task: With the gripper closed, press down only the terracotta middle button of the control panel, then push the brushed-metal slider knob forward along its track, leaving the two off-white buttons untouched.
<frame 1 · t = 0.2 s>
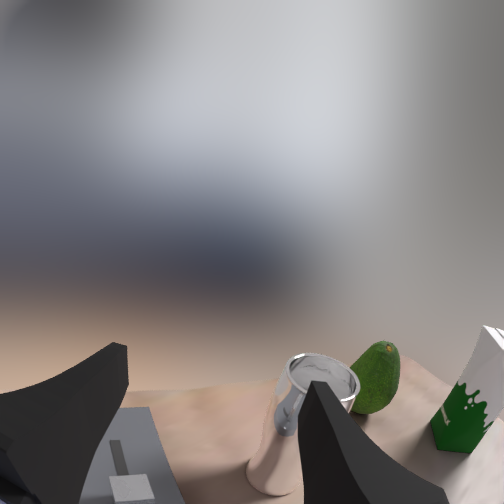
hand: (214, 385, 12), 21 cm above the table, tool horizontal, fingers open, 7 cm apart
milk carton: (449, 438, 37), on the table
slider knob: (131, 496, 18), point 5 cm above the table, slide at 0.0 cm
control panel: (80, 493, 20), on the table
avocado: (356, 409, 43), on the table
beer glass: (272, 475, 29), on the table
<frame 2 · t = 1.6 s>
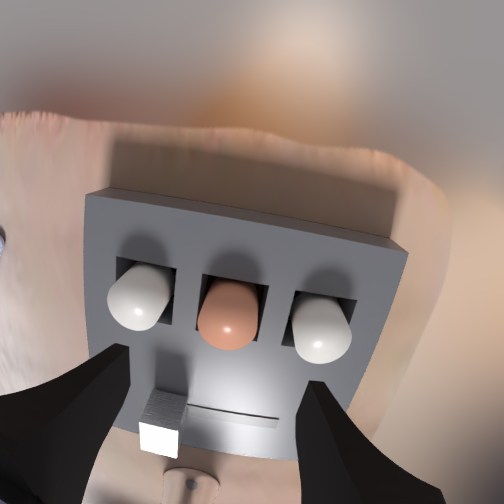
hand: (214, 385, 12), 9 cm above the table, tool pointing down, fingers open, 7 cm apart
middle button: (230, 310, 18), point 3 cm above the table, slide at 0.0 cm
slider knob: (164, 423, 18), point 5 cm above the table, slide at 0.0 cm
control panel: (226, 339, 22), on the table
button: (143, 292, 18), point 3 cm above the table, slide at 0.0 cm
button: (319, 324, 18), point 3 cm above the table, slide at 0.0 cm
beer glass: (191, 480, 28), on the table
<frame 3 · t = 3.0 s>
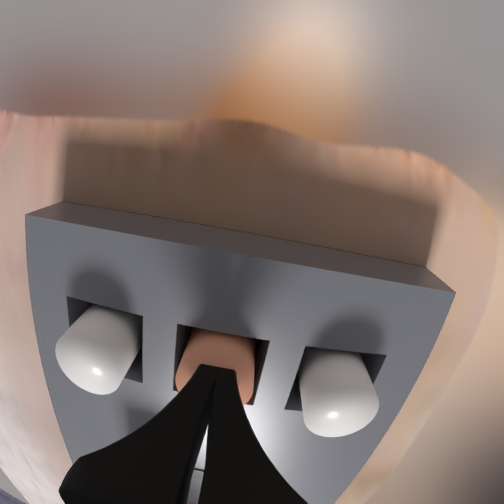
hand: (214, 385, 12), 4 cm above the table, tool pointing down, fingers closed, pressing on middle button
middle button: (219, 360, 13), point 2 cm above the table, slide at 0.7 cm, touching gripper
control panel: (215, 390, 17), on the table
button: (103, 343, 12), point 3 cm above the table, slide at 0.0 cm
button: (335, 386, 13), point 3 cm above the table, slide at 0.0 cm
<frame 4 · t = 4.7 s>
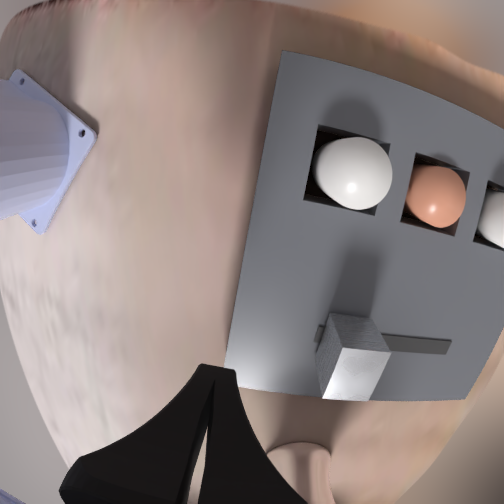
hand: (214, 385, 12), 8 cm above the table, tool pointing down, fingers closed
middle button: (427, 192, 15), point 2 cm above the table, slide at 1.2 cm
slider knob: (349, 357, 15), point 5 cm above the table, slide at 0.0 cm
control panel: (396, 252, 18), on the table
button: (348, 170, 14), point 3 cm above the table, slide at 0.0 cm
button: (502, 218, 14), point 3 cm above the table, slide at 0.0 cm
beer glass: (296, 459, 25), on the table
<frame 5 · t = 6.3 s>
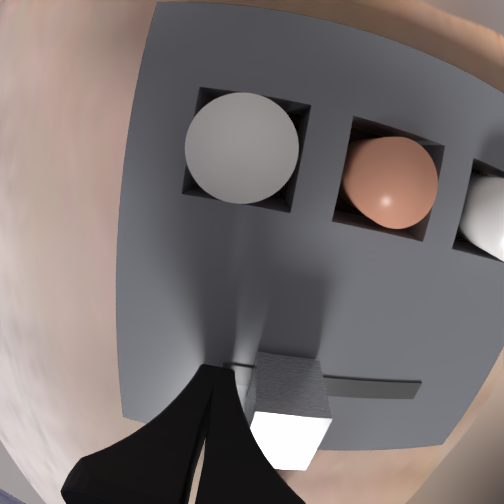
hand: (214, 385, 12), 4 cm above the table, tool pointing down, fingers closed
middle button: (381, 178, 11), point 2 cm above the table, slide at 1.2 cm
slider knob: (281, 412, 11), point 5 cm above the table, slide at 0.9 cm, touching gripper
control panel: (345, 262, 14), on the table
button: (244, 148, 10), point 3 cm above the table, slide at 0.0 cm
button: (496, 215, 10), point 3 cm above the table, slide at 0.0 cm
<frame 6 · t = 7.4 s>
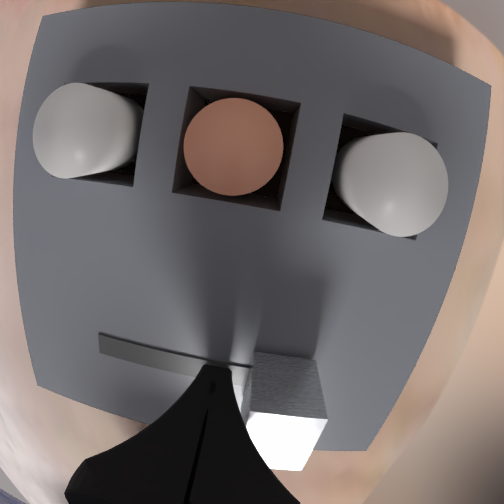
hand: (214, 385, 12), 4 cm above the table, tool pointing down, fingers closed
middle button: (237, 147, 11), point 2 cm above the table, slide at 1.2 cm
slider knob: (277, 412, 11), point 5 cm above the table, slide at 6.1 cm, touching gripper
control panel: (225, 241, 14), on the table
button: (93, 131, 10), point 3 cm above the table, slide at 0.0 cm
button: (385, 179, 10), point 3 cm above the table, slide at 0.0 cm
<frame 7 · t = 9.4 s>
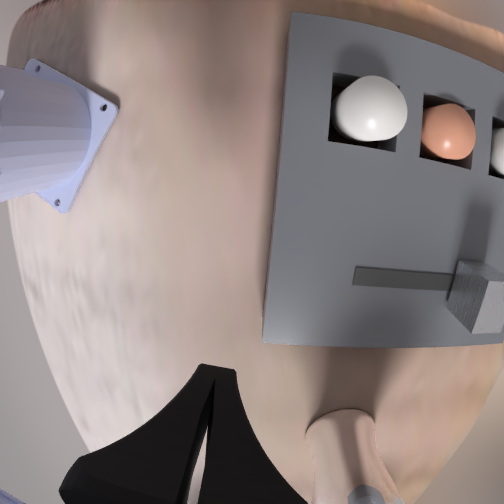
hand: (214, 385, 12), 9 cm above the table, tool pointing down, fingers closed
middle button: (439, 132, 15), point 2 cm above the table, slide at 1.2 cm
slider knob: (480, 296, 15), point 5 cm above the table, slide at 6.1 cm
control panel: (418, 195, 18), on the table
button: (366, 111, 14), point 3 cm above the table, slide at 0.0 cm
beer glass: (339, 430, 24), on the table
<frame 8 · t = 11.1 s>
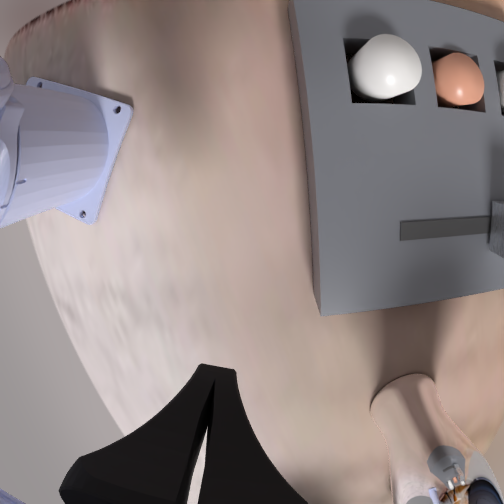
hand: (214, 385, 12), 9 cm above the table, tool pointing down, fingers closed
middle button: (449, 82, 14), point 2 cm above the table, slide at 1.2 cm
control panel: (441, 146, 17), on the table
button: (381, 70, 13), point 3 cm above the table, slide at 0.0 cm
beer glass: (402, 398, 23), on the table
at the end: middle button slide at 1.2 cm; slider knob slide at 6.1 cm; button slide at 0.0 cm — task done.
